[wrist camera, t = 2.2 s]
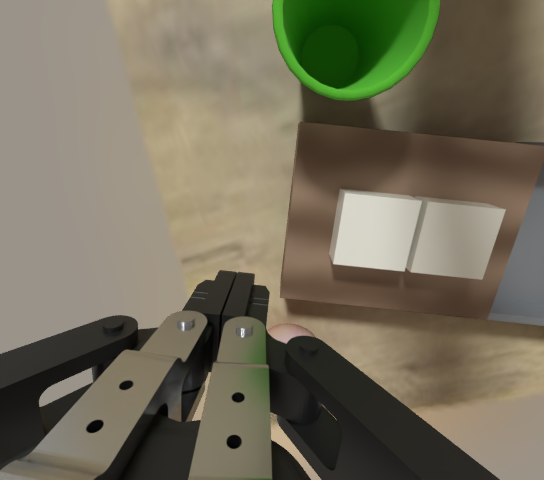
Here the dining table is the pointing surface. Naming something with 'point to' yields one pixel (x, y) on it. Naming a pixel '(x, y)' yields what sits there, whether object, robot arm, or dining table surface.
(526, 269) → the box
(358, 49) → the cup
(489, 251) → the tile
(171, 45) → the dining table surface
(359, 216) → the tile
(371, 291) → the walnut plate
